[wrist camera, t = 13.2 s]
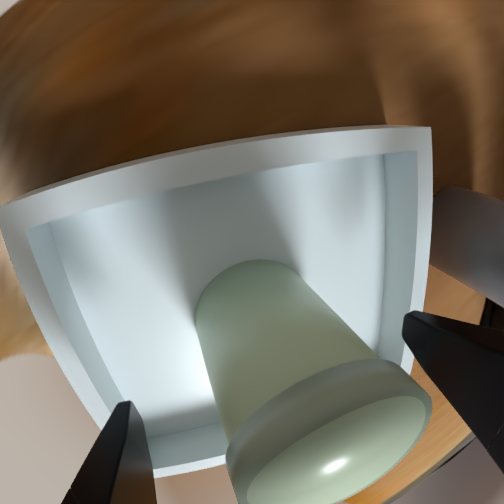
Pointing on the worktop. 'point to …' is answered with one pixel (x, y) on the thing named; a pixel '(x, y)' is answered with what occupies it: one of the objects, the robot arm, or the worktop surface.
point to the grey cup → (469, 239)
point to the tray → (218, 261)
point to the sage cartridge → (300, 390)
